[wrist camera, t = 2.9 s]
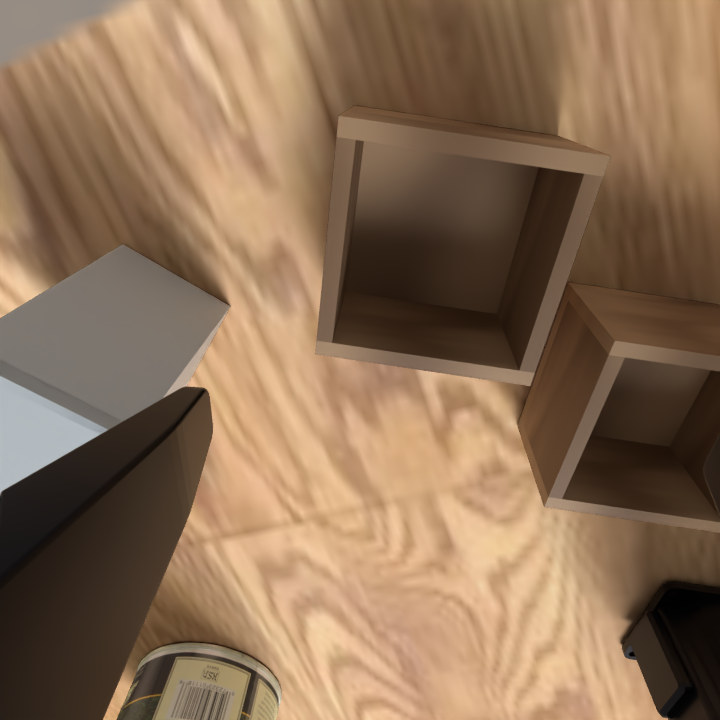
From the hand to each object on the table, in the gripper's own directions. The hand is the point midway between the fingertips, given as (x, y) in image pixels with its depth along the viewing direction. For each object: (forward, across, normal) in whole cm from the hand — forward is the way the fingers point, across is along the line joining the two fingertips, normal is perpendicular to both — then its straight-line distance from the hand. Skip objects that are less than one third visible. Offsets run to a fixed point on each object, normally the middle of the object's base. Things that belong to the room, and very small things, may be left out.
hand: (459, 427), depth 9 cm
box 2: (+12, -9, +5) cm, 16 cm away
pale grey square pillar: (+12, +11, +5) cm, 17 cm away
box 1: (+12, 0, 0) cm, 12 cm away
